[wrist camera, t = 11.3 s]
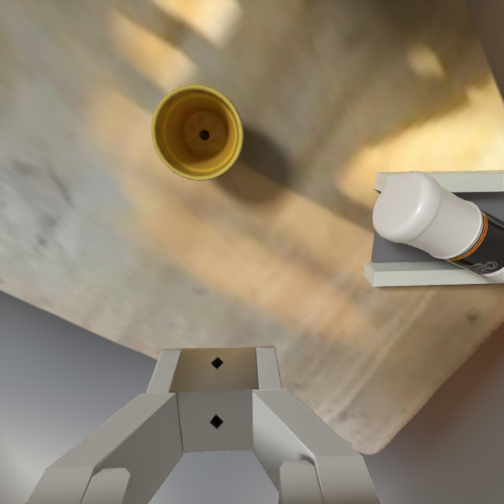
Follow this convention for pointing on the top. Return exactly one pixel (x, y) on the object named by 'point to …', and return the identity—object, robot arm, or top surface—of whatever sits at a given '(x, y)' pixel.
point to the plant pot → (197, 132)
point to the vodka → (440, 224)
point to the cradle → (419, 261)
